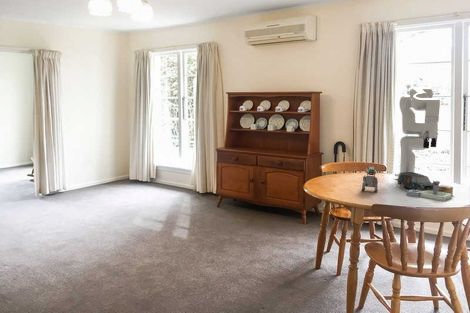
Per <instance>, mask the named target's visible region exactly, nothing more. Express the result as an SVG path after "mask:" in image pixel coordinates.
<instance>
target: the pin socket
mask: <svg viewBox="0 0 470 313" xmlns="http://www.w3.org/2000/svg"><path fill="white" fill-rule="evenodd" d="M420 192H423V191H419V190H414V189H408V190H406V196H410V197H415V198H419V194H420Z"/></svg>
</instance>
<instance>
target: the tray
mask: <svg viewBox="0 0 470 313" xmlns="http://www.w3.org/2000/svg"><path fill="white" fill-rule="evenodd" d="M419 197H420V198H424V199H430V200H435V201H442V202H446V201H448V200H451V199H452V197H453V193H452V194H449V193H443V192H438V195H433V191H431V190H426V191H423V192H420V194H419ZM419 197H418V198H419ZM450 198H451V199H450Z"/></svg>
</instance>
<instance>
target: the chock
mask: <svg viewBox="0 0 470 313" xmlns="http://www.w3.org/2000/svg"><path fill="white" fill-rule="evenodd" d="M453 190H454V187H453V186H449V185H443V184H439V188H438V192H443V193H449V194H452V195H453Z"/></svg>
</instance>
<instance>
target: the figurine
mask: <svg viewBox="0 0 470 313" xmlns="http://www.w3.org/2000/svg"><path fill="white" fill-rule="evenodd" d="M365 170H366V174H367V175H366V174H364V176H362V183H361V184H362V185H361V192H364V191H365V190H366V188H374V193H377V192H378V191H379V190H378V185H379V181H378V178H377V177H376V176H375V175H377V170H376V167H374V166H370V165H368V166H367V167H366V168H365Z"/></svg>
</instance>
